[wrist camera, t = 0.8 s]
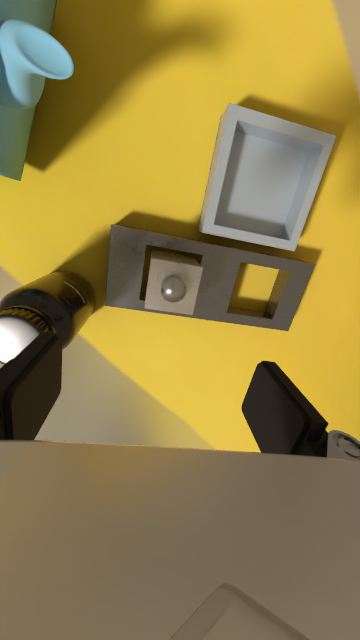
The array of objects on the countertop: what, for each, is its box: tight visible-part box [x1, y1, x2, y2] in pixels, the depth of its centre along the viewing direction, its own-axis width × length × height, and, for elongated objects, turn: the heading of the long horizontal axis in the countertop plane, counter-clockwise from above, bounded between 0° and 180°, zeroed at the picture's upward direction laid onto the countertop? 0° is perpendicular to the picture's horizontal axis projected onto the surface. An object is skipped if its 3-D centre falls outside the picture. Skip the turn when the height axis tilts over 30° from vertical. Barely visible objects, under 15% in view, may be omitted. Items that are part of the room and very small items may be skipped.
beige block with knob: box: [144, 250, 203, 315], centre depth 26 cm, size 5×5×8 cm
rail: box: [105, 224, 315, 331], centre depth 29 cm, size 24×9×2 cm, turn 79°
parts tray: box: [198, 103, 336, 251], centre depth 25 cm, size 11×11×3 cm
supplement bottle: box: [0, 271, 95, 364], centre depth 23 cm, size 7×7×12 cm
